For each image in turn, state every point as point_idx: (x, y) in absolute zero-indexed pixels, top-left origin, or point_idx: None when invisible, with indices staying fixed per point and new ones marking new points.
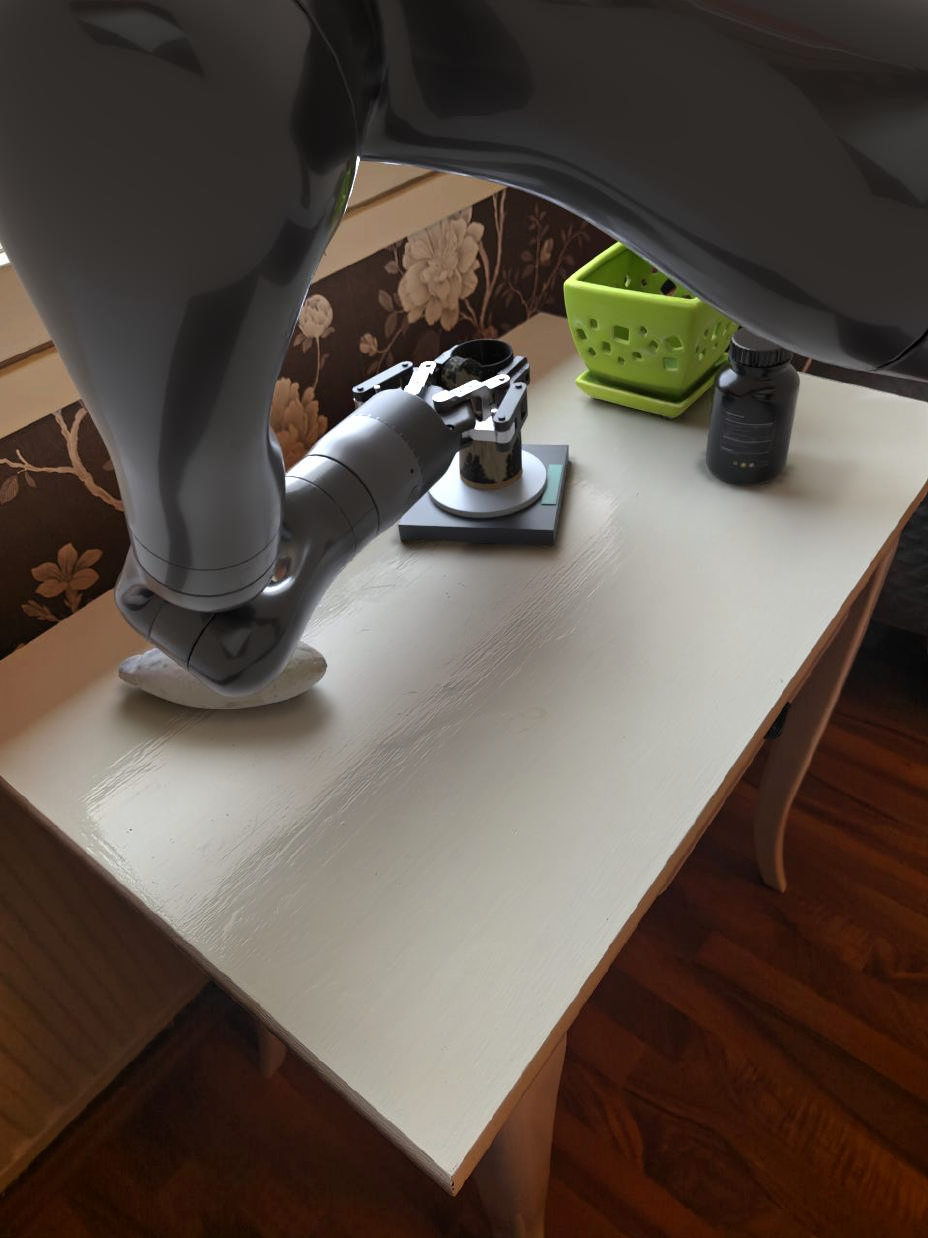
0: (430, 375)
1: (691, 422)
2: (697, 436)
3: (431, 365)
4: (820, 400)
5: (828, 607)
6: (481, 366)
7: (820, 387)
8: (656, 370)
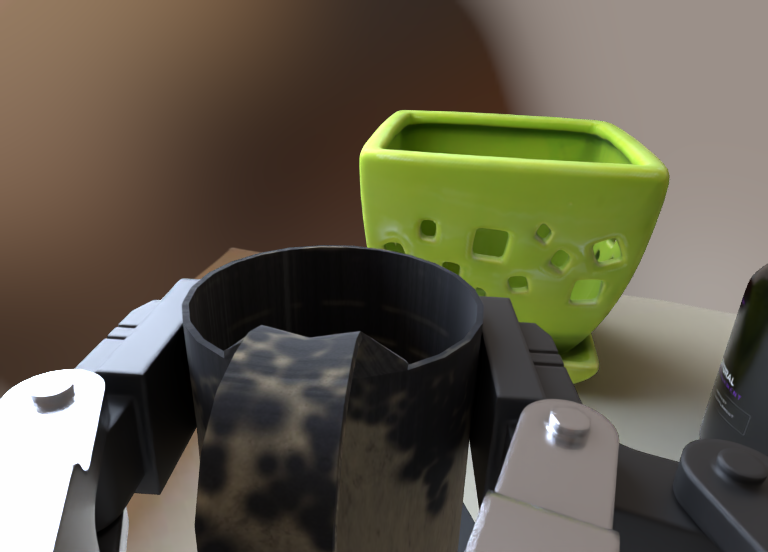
0: (80, 488)
1: (592, 389)
2: (631, 416)
3: (77, 395)
4: (705, 326)
5: None
6: (406, 368)
7: (679, 309)
8: (552, 307)
